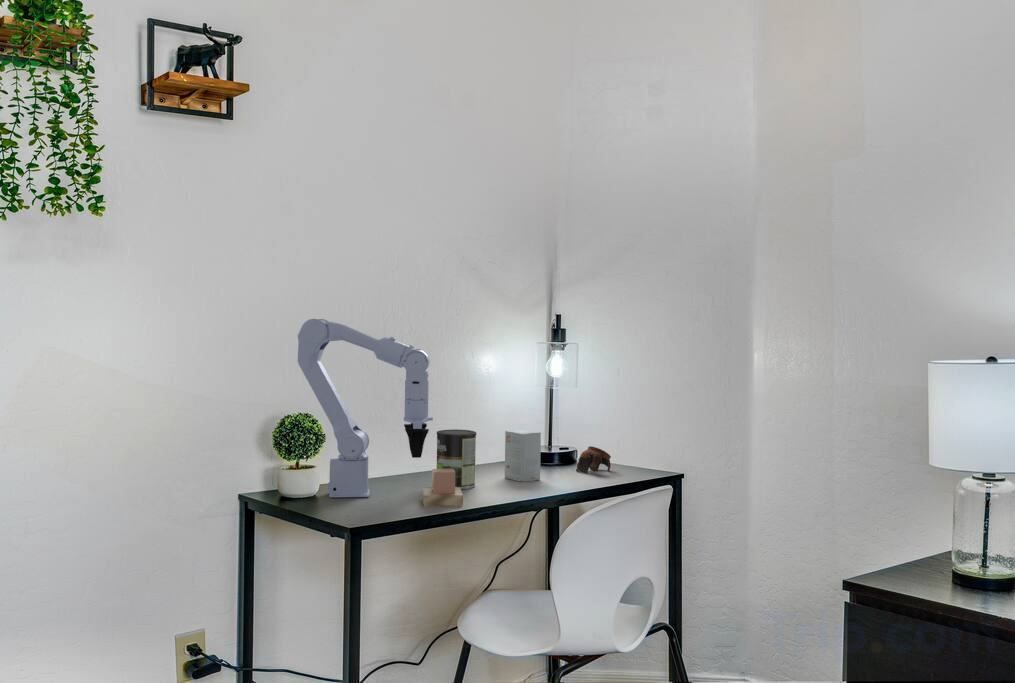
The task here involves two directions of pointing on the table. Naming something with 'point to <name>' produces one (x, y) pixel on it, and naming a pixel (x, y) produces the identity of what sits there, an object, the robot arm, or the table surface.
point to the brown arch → (593, 459)
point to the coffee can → (458, 455)
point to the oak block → (442, 498)
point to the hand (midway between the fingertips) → (415, 455)
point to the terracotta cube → (443, 481)
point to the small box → (522, 455)
